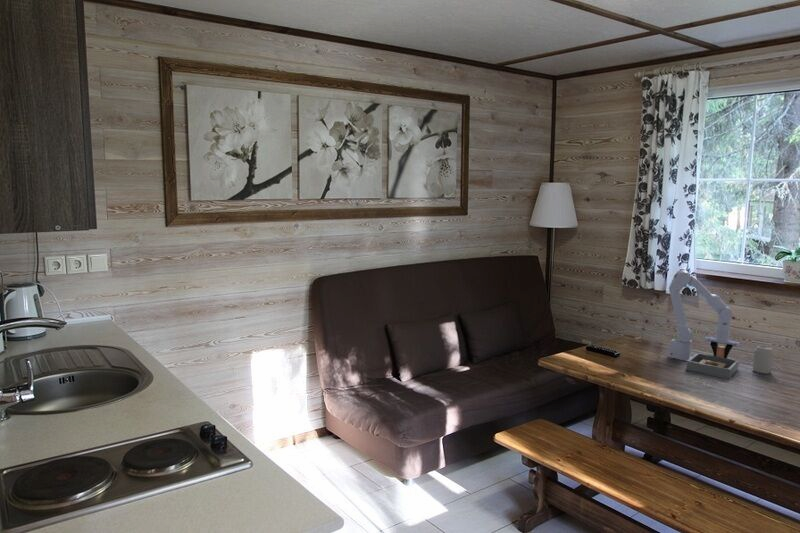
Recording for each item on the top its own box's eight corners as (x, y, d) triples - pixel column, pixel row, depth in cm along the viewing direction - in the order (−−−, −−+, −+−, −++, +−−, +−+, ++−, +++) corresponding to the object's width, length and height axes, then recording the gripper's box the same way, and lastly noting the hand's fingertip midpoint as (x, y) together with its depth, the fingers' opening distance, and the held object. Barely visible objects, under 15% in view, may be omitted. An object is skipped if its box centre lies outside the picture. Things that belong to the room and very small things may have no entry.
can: (766, 369, 281) (768, 345, 279) (774, 374, 274) (777, 349, 272) (749, 368, 282) (752, 344, 280) (757, 374, 275) (760, 348, 273)
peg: (714, 363, 290) (715, 347, 289) (716, 361, 293) (717, 345, 292) (723, 364, 287) (725, 348, 286) (725, 362, 290) (726, 347, 289)
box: (686, 370, 278) (687, 360, 277) (696, 361, 291) (697, 352, 291) (729, 379, 266) (730, 369, 266) (737, 369, 280) (738, 360, 279)
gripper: (704, 329, 289) (701, 356, 291) (738, 335, 280) (735, 363, 282) (708, 327, 295) (705, 353, 297) (741, 332, 285) (738, 359, 287)
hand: (720, 358), depth 290 cm, fingers closed on peg, 4 cm apart
